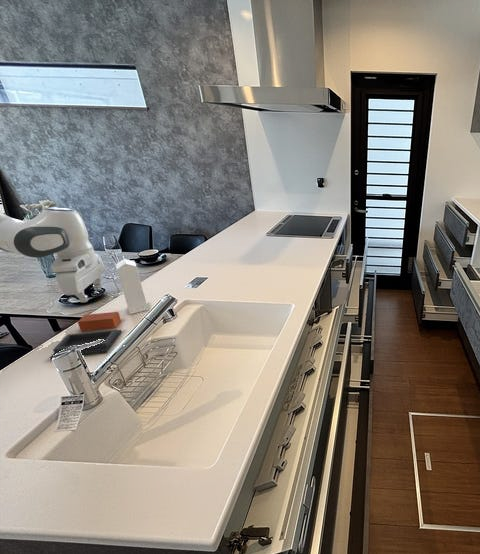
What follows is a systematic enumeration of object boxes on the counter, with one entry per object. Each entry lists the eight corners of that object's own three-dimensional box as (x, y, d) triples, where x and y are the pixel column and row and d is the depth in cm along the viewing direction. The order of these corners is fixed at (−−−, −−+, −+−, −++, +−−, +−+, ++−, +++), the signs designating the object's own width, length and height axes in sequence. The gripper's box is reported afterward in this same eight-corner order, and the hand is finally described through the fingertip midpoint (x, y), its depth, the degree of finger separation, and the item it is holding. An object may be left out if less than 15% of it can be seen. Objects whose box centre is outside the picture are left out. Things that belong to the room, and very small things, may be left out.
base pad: (50, 360, 92) (47, 353, 91) (72, 337, 102) (69, 331, 102) (106, 352, 96) (104, 346, 95) (121, 332, 107) (119, 326, 106)
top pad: (81, 331, 106) (77, 321, 104) (88, 324, 110) (84, 314, 109) (115, 328, 109) (112, 318, 107) (121, 320, 113) (118, 311, 112)
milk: (130, 314, 118) (113, 261, 109) (128, 308, 122) (112, 256, 113) (148, 309, 121) (134, 258, 112) (147, 303, 126) (132, 253, 117)
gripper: (82, 248, 107) (95, 283, 112) (46, 269, 89) (63, 310, 95) (104, 246, 109) (115, 281, 114) (73, 267, 91) (88, 307, 97)
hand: (91, 295), depth 104 cm, fingers open, 8 cm apart
